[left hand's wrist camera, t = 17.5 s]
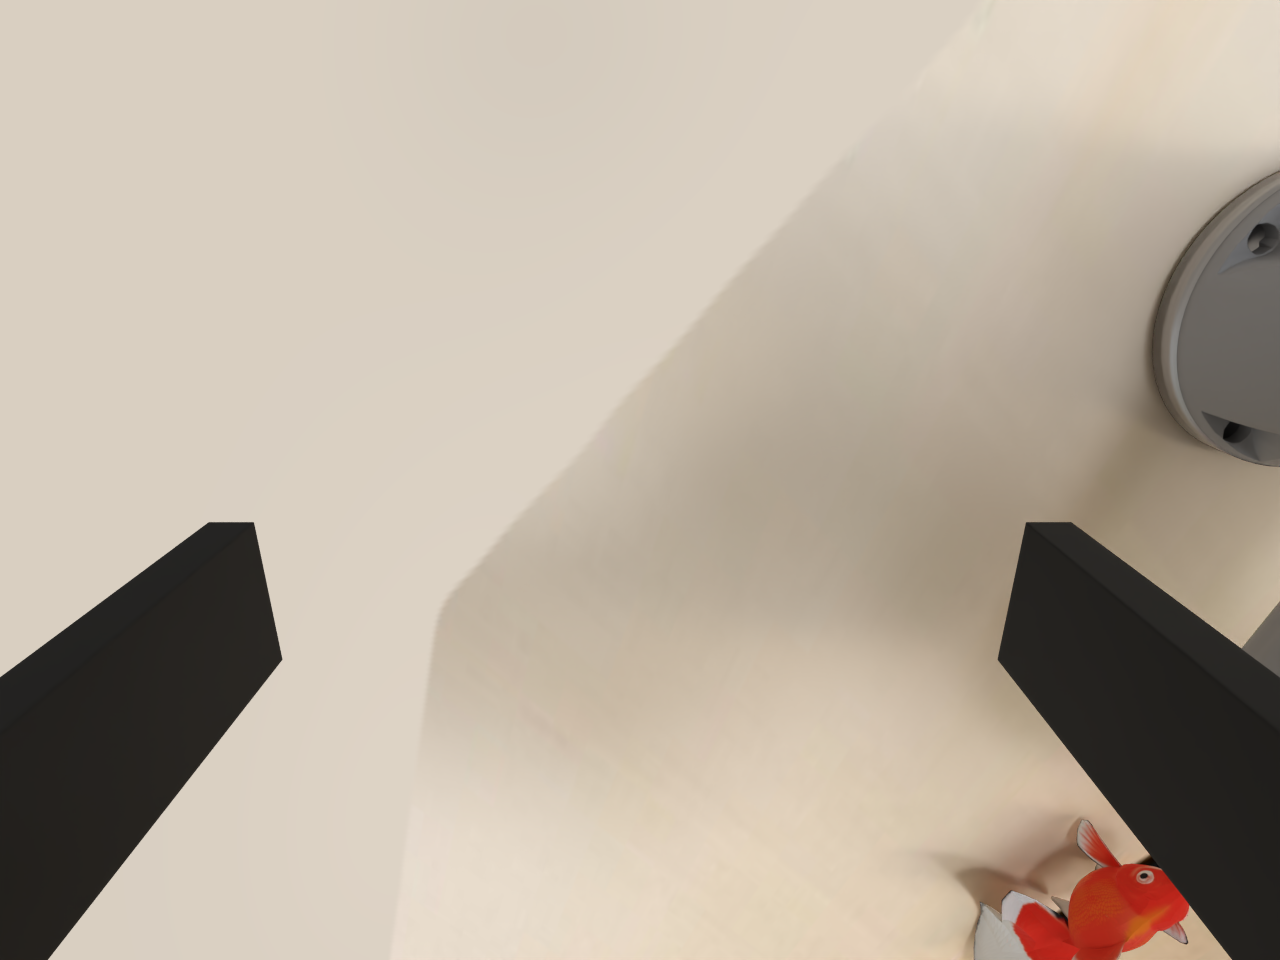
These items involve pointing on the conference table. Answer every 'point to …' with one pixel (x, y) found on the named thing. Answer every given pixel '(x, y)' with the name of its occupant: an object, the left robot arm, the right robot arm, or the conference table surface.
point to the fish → (1085, 913)
